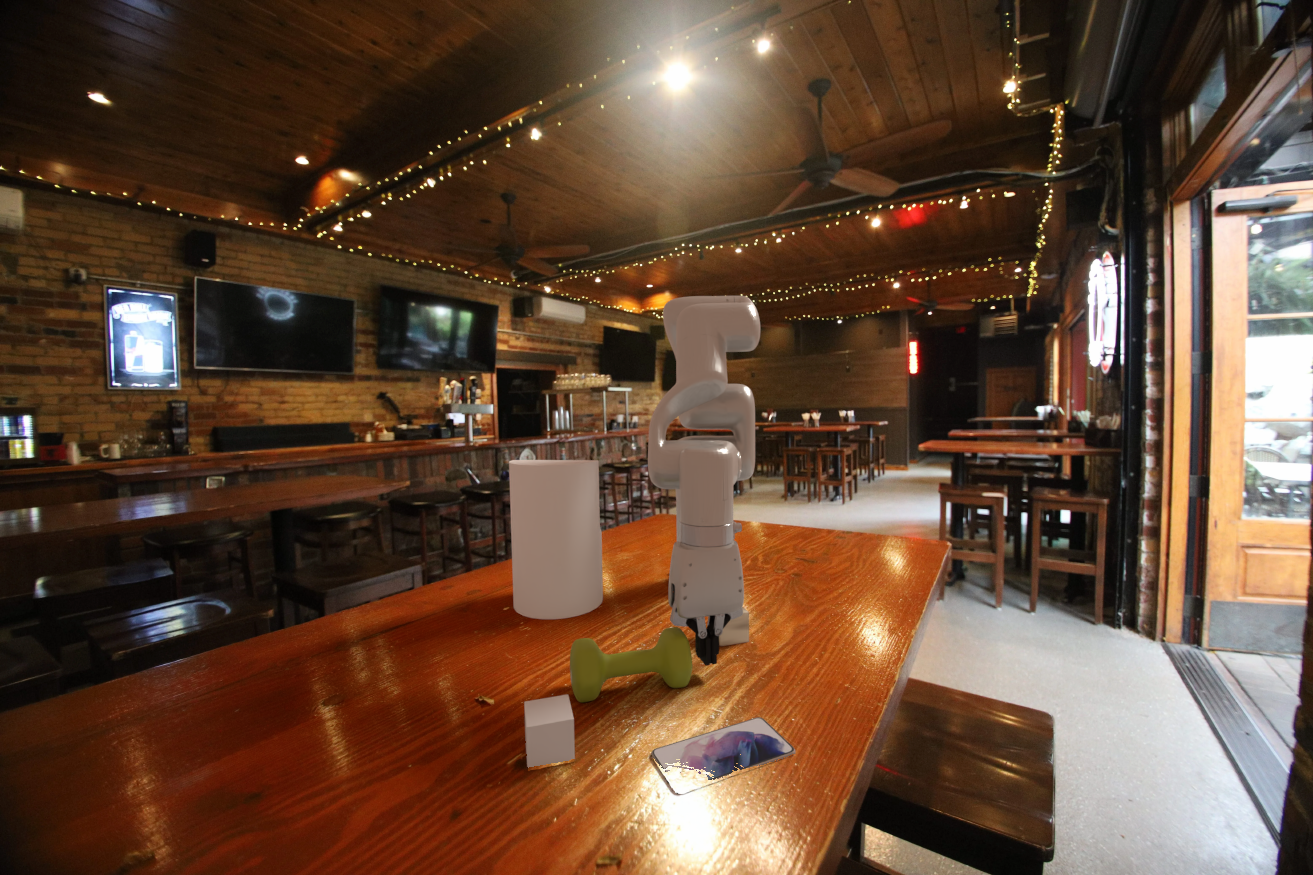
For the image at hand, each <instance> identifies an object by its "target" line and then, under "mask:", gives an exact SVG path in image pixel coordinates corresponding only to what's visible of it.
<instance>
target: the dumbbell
mask: <svg viewBox="0 0 1313 875" xmlns="http://www.w3.org/2000/svg"><path fill="white" fill-rule="evenodd" d="M569 653H570V654H569V656H570V657H569V671H570V672H569V674H570V675H569V676H570V683H571V684H570V685H571V688H572V692H573V695H574V696H575V699H576V700H577V702H579V703H588V702H592V701H595V700H596V699H597V698H598V697H599V695H600V693H601V691H602V688H603V685H604V684H605V682H606V681H607V680H610V679H614V678H620V677H621V678H622V677H628V676H635V675H641V674H648V673H657V674H659V675H660V676H661V677H662V679H663V681H664V682H665V684H667V686H668V687H670V688H672V689H678V688H679V689H680V688H686V687H687V686H688V685H689V683H690V680H691V676H692V673H693V657H692V650H691V646H690V641H689V639H688V637H687V635H686V634H685V632H684V631H683V629H681V628H680V627H679V626H673V627H666V628H665V629H663V630H662V631H661V633H660V635H659V637H658V641H657V643H656V644H655V646H654V647H652V648H649V649H638V650H629V651H628V650H627V651H622V652H618V653H612V654H610V653H609V654H608V653H604V652H603V651H602V650H601V649H600V647H599V645H598V644H597V643H596V641H595V640H594V639H592V638H590V637H581V638H576V639H575V640H574V641H573V642H572V644H571V647H570V652H569Z"/></svg>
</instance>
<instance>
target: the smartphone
mask: <svg viewBox="0 0 1313 875" xmlns="http://www.w3.org/2000/svg"><path fill="white" fill-rule="evenodd" d="M740 754H741V755H740ZM792 754H795V755H796V749H795V747H794V746H793V745H792V744H791V743H790V742H789V741H788V740H786V739H785V738H784V737H783V735H781V733H779V732H778V731H777V730H776V729H775V728H774V727H773V726H772V725H771V724H770V723H768V721H767V720H766V719H764V718H763V717H754V718H751V719H748V720H744V721H741V722H738V723H734V724H731V725H728V726H724V727H721V728H718V729H714V730H711V731H708V732H705V733H702V734H699V735H695V736H692V737H690V738H689V737H688V738H686V739H682V740H679V741H676V742H673V743H669V744H666V745H661V746H659V747H655V748H654V749H653V750H652V751H651V753H650V756H651V755H652V757H653V758H654V759H655V761H656V762H657V763H658V764H659V766H660V765H661V766H662V767H661V768H663V769H666V768H667V767H668V766H672V767H677V768H678V767H679V768H684V769H689V770H694V769H699V770H701V769H703V770H705V771H706V772H710V773H711V774H713V775H714V776H712V777H714V778H712V777H710V776H709V775H707V774H706V775H707V777H708V780H712V779H713V780H715V779H716V778H717V779H719V778H721V777H722V778H723V776H727V775H729V774H731V773H732V772H733V771H732V770H734V771H737V770H738V769H737V768H739V769H740V770H742V769H746V768H750V767H753V766H758V765H759V766H760V765H764V764H767V763H769V762H774V761H775V760H776V762H778V761H777V760H778V759H782V760H784V759H783V758H784V757H785V759H787V758H786V757H788V756H790V755H792ZM652 757H651V758H652ZM788 758H789V757H788ZM676 759H680V760H676ZM679 761H680V762H679ZM677 762H679V763H681V764H680V765H681V766H674V765H667V764H665V763H668V764H673V763H677ZM686 762H688V763H686ZM683 763H684V764H683ZM736 763H738V764H736ZM774 763H775V762H774ZM683 765H685V766H686V765H687V766H689V767H694V769H693V768H692V769H691V768H687V767H682V766H683ZM740 765H742V766H743V767H744V768H743V767H741V766H740ZM734 766H735V767H737V768H735V767H734ZM704 767H706V768H704ZM711 770H712V771H711ZM668 771H670V770H665V772H668ZM696 771H697V770H696ZM713 771H715V772H713ZM680 773H681V772H680ZM698 773H699V774H701V772H700V771H699V772H698Z"/></svg>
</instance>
